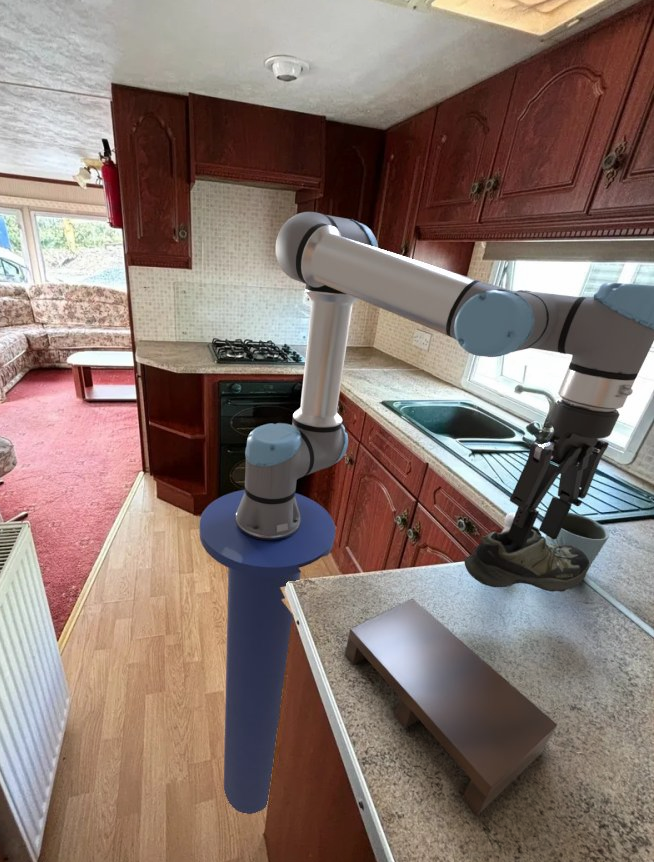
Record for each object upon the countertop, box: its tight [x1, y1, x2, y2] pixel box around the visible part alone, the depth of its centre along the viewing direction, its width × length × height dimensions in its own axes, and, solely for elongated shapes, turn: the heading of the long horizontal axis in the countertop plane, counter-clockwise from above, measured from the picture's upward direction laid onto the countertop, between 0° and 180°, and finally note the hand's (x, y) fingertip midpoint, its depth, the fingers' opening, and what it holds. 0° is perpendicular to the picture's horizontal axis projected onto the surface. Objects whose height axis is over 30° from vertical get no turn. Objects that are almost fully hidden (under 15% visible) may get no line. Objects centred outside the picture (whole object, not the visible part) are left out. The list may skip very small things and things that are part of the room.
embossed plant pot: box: [545, 511, 610, 571], centre depth 86 cm, size 10×10×12 cm
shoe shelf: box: [344, 598, 558, 817], centre depth 58 cm, size 24×14×6 cm, turn 31°
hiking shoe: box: [463, 525, 590, 593], centre depth 68 cm, size 8×21×9 cm, turn 98°
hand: (532, 537), depth 66 cm, fingers closed on hiking shoe, 7 cm apart
